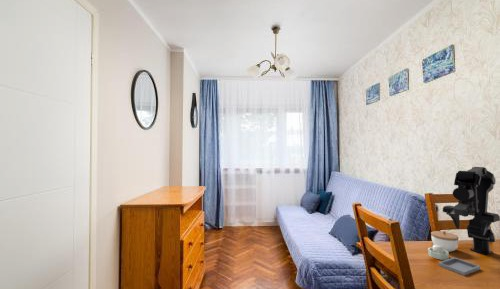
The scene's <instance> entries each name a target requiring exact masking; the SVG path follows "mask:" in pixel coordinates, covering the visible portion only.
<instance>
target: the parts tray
mask: <svg viewBox="0 0 500 289" xmlns="http://www.w3.org/2000/svg"><path fill="white" fill-rule="evenodd" d="M438 266H439V267H441V268H444V269H446V270H448V271H451V272H453V273H456V274H459V275H461V276H464V277H465V276H467V275H469V274H473V273H475V272H477V271H480V270H481V265H478V264H475V263H472V262H470V261H466V260H464V259H461V258H457V257H455V256H454V257H451V258H449V259H448V260H442V261H440V262H438Z"/></svg>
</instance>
